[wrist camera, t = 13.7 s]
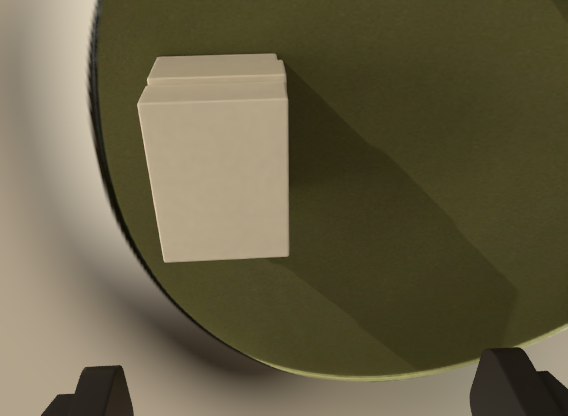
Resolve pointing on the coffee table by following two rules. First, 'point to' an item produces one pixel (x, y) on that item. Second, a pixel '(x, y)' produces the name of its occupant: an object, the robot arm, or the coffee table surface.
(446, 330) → the coffee table surface
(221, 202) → the cream flat block
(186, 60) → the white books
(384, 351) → the coffee table surface
